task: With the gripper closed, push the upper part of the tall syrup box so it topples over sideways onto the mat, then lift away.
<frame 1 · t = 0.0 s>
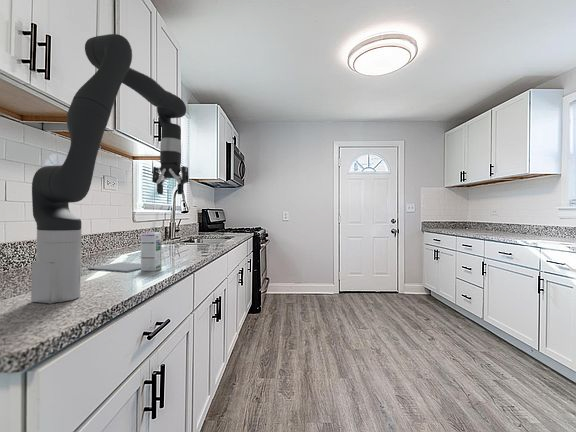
hand: (170, 194, 127), 29 cm above the worktop, fingers open, 8 cm apart
syrup box: (150, 270, 129), on the worktop
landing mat: (123, 267, 132), on the worktop
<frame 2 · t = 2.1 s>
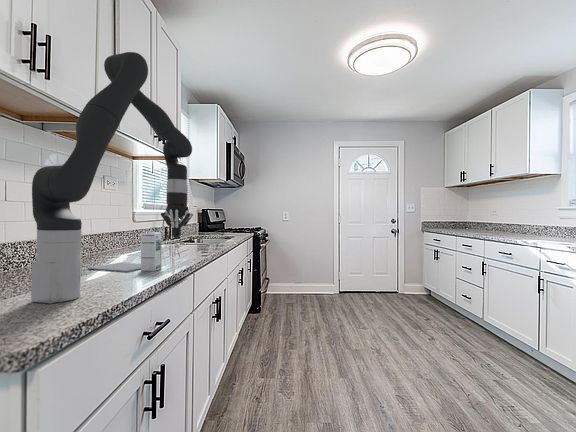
hand: (176, 237, 126), 13 cm above the worktop, fingers closed
nothing on the worktop moved.
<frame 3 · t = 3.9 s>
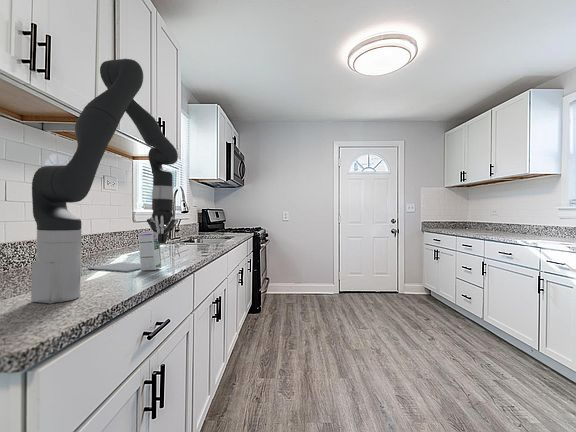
hand: (162, 243, 127), 10 cm above the worktop, fingers closed
syrup box: (151, 269, 129), on the worktop, touching gripper, hand
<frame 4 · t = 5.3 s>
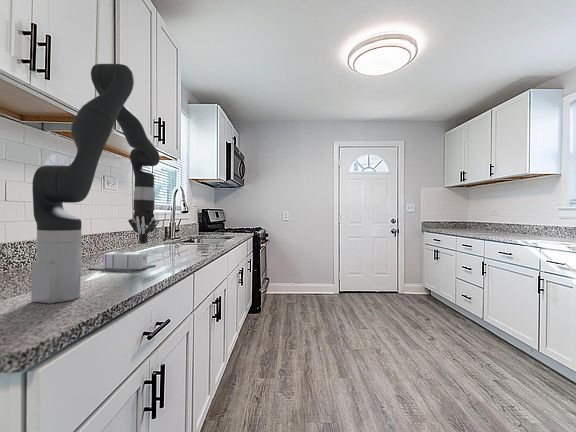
hand: (143, 243, 130), 10 cm above the worktop, fingers closed
syrup box: (144, 261, 129), point 3 cm above the worktop, touching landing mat
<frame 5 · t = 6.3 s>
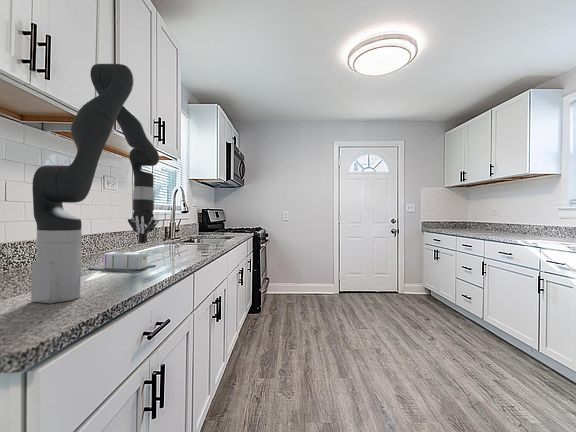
hand: (142, 243, 130), 10 cm above the worktop, fingers closed
nothing on the worktop moved.
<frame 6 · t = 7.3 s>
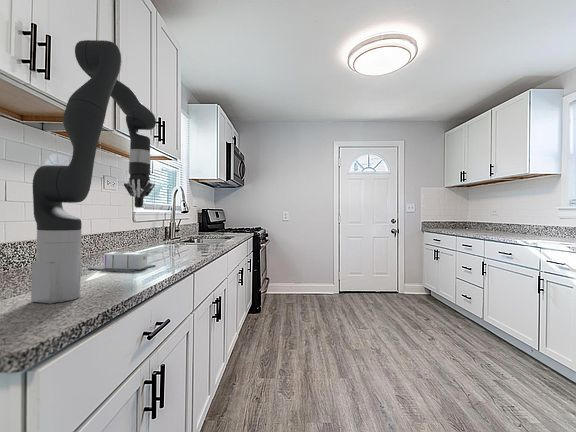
hand: (138, 207, 128), 24 cm above the worktop, fingers closed
nothing on the worktop moved.
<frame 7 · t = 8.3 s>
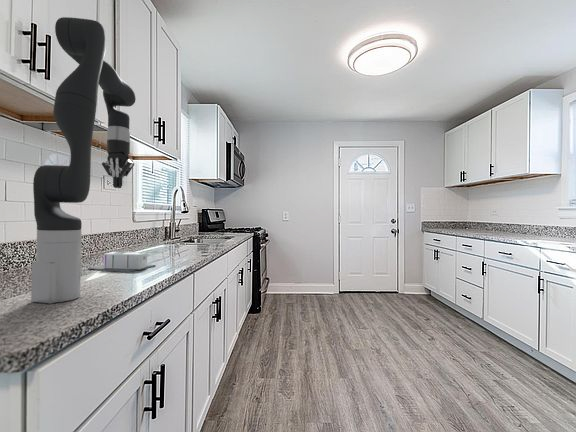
hand: (117, 187, 122), 31 cm above the worktop, fingers closed
nothing on the worktop moved.
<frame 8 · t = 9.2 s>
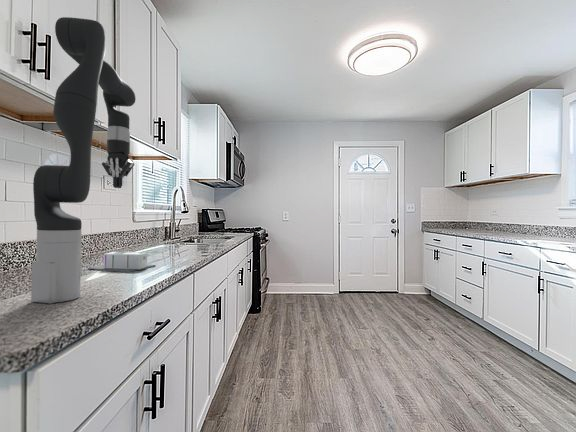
hand: (117, 187, 122), 31 cm above the worktop, fingers closed
nothing on the worktop moved.
at the end: syrup box tilted 89°; syrup box touching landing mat; syrup box inside the target area (1.4 cm from its centre), point 3.3 cm above the worktop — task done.
